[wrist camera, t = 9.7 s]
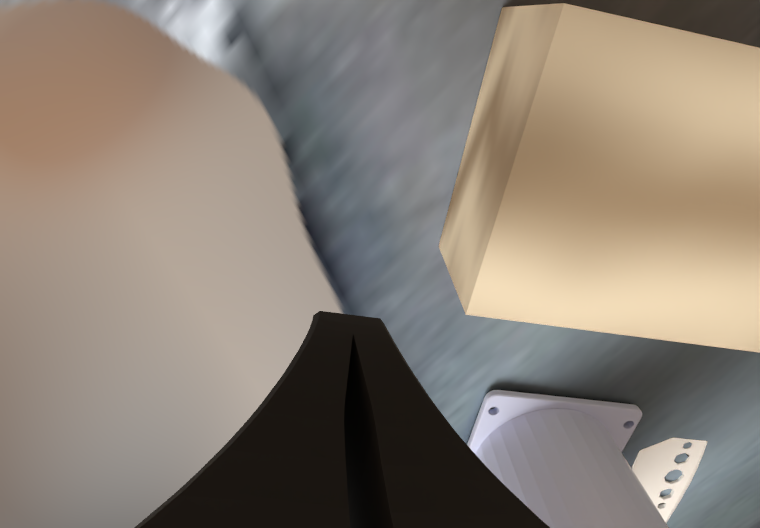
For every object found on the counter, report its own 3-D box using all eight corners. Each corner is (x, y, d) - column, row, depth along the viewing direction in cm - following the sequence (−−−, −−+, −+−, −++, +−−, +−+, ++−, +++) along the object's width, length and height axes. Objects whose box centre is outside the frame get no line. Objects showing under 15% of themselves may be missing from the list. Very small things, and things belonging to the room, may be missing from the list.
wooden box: (744, 291, 21) (850, 364, 17) (438, 246, 19) (465, 314, 15) (867, 88, 17) (1045, 113, 13) (502, 7, 16) (564, 3, 11)
